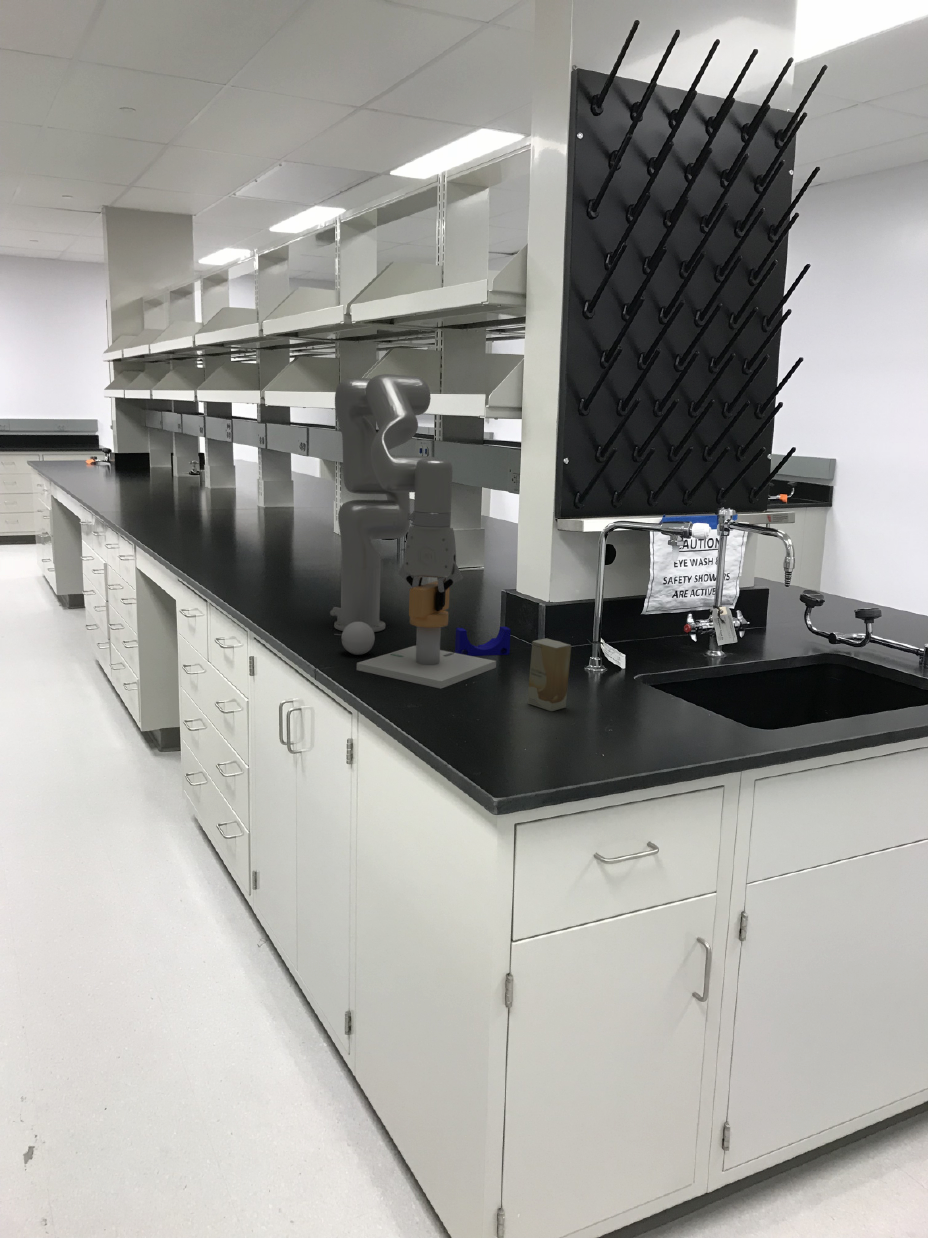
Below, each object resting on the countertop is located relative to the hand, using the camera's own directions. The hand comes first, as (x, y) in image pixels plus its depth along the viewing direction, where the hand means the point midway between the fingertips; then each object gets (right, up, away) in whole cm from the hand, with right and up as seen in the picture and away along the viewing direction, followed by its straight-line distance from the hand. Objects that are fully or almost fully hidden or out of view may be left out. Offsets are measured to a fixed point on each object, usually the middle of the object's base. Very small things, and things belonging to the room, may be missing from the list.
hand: (429, 608), depth 194 cm
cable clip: (+11, -10, +18) cm, 24 cm away
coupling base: (0, -13, +3) cm, 13 cm away
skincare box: (+23, -19, -20) cm, 35 cm away
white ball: (-17, -10, +13) cm, 24 cm away
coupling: (0, -3, +1) cm, 3 cm away
